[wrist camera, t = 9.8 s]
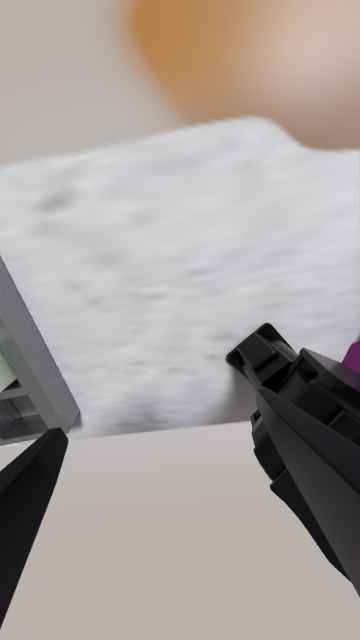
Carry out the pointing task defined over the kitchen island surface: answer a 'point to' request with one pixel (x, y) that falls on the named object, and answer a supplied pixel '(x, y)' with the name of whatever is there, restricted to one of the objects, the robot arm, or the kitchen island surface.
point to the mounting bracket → (353, 357)
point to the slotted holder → (29, 373)
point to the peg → (5, 374)
